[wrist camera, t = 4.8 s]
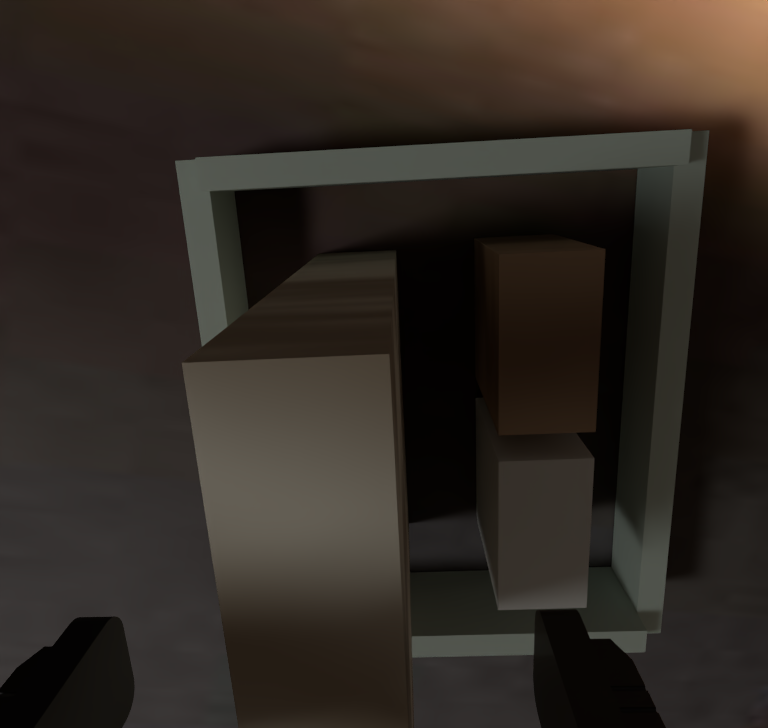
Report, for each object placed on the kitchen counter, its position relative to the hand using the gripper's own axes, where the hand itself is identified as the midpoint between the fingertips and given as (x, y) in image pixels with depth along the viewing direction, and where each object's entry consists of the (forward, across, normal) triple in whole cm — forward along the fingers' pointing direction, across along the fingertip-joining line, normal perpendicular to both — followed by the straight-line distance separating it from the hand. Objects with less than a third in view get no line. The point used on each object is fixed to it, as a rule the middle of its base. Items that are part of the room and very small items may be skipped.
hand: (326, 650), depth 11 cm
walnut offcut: (+14, -6, -4) cm, 16 cm away
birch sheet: (+14, 0, 0) cm, 14 cm away
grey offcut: (+14, -6, +3) cm, 15 cm away
